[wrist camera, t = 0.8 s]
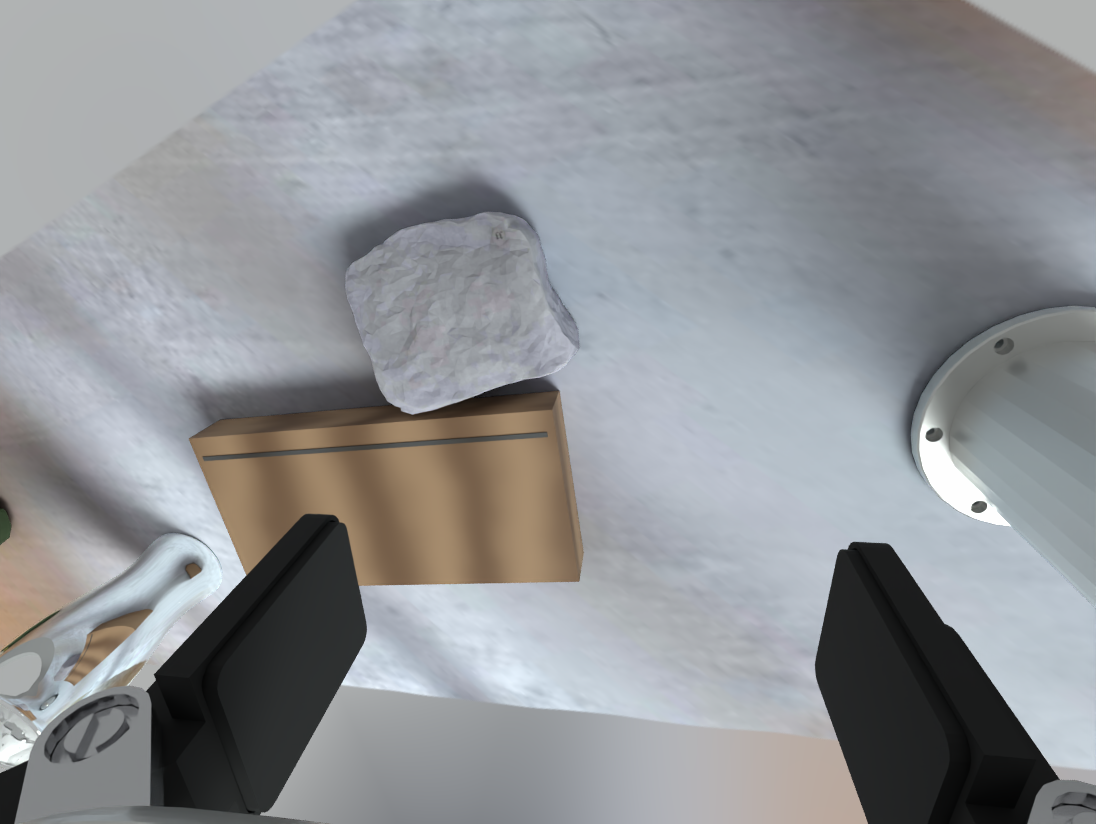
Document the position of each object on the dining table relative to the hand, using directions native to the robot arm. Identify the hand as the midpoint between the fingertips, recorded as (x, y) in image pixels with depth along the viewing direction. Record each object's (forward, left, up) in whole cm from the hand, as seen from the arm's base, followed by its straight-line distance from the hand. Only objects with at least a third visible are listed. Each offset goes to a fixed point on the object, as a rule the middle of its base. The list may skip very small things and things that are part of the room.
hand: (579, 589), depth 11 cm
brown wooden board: (+16, +11, -24) cm, 30 cm away
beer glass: (+36, +17, -24) cm, 46 cm away
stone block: (+9, -1, -24) cm, 26 cm away
